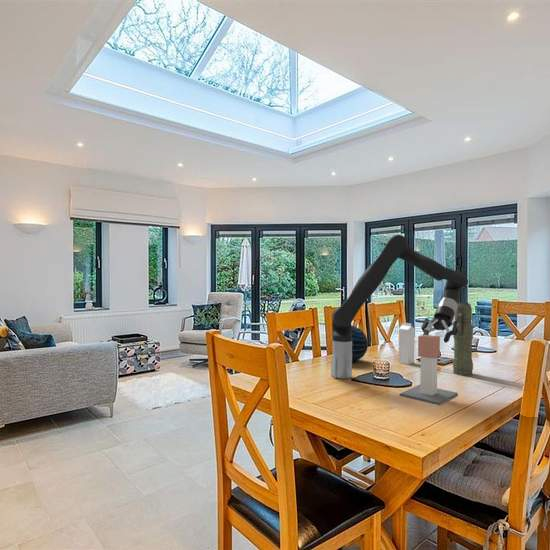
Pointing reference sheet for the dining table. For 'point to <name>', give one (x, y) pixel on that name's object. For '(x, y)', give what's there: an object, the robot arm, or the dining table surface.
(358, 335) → the decorative sphere
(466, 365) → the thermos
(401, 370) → the dining table surface
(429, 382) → the square base with post
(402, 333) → the milk
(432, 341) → the cap
